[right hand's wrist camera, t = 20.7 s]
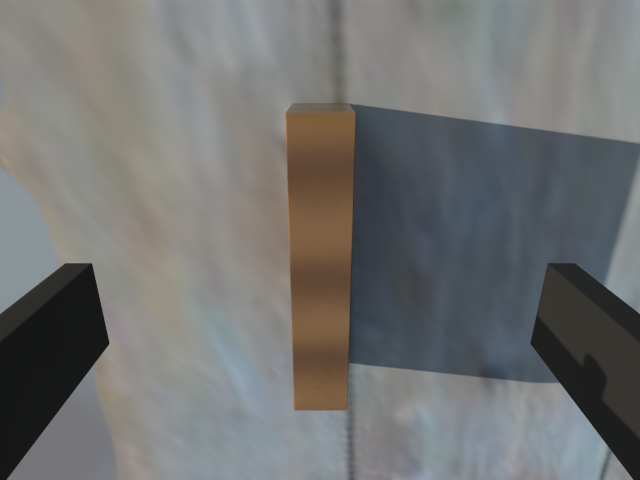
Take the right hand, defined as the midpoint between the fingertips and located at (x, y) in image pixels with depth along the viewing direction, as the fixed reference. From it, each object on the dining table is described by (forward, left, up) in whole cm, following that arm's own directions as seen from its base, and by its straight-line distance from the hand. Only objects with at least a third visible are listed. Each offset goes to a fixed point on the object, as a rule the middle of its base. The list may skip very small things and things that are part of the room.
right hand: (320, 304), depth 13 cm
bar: (+5, +9, -30) cm, 32 cm away
